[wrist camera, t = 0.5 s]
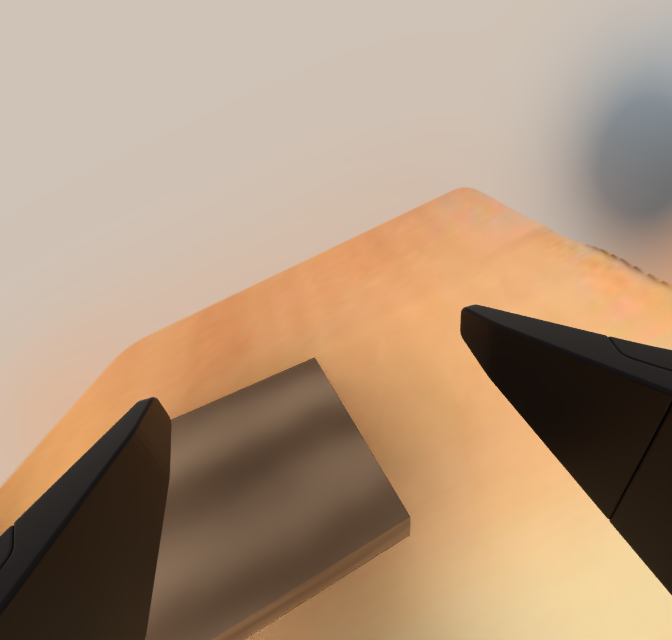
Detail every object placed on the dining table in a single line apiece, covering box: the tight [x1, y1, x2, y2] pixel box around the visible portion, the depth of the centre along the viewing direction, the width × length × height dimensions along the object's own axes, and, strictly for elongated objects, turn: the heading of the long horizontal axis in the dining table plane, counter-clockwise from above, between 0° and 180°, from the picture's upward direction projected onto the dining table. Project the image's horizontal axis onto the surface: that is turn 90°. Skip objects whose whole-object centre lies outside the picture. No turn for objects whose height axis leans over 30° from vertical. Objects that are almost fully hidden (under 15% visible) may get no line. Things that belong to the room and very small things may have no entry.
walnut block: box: [146, 358, 410, 640], centre depth 22 cm, size 14×14×3 cm
